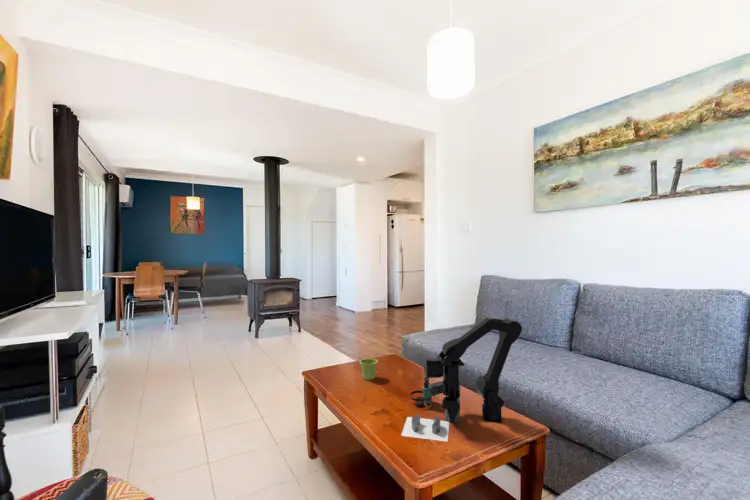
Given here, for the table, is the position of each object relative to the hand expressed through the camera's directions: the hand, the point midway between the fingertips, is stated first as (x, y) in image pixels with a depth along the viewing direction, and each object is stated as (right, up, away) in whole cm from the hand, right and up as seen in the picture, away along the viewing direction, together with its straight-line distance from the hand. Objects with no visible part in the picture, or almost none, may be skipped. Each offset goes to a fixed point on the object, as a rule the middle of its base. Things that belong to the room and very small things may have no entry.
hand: (452, 417), depth 129 cm
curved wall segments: (-11, -1, -6) cm, 13 cm away
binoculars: (-10, -2, +14) cm, 17 cm away
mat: (-11, -1, -6) cm, 13 cm away
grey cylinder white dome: (0, -1, 0) cm, 1 cm away
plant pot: (-33, -2, +45) cm, 55 cm away
